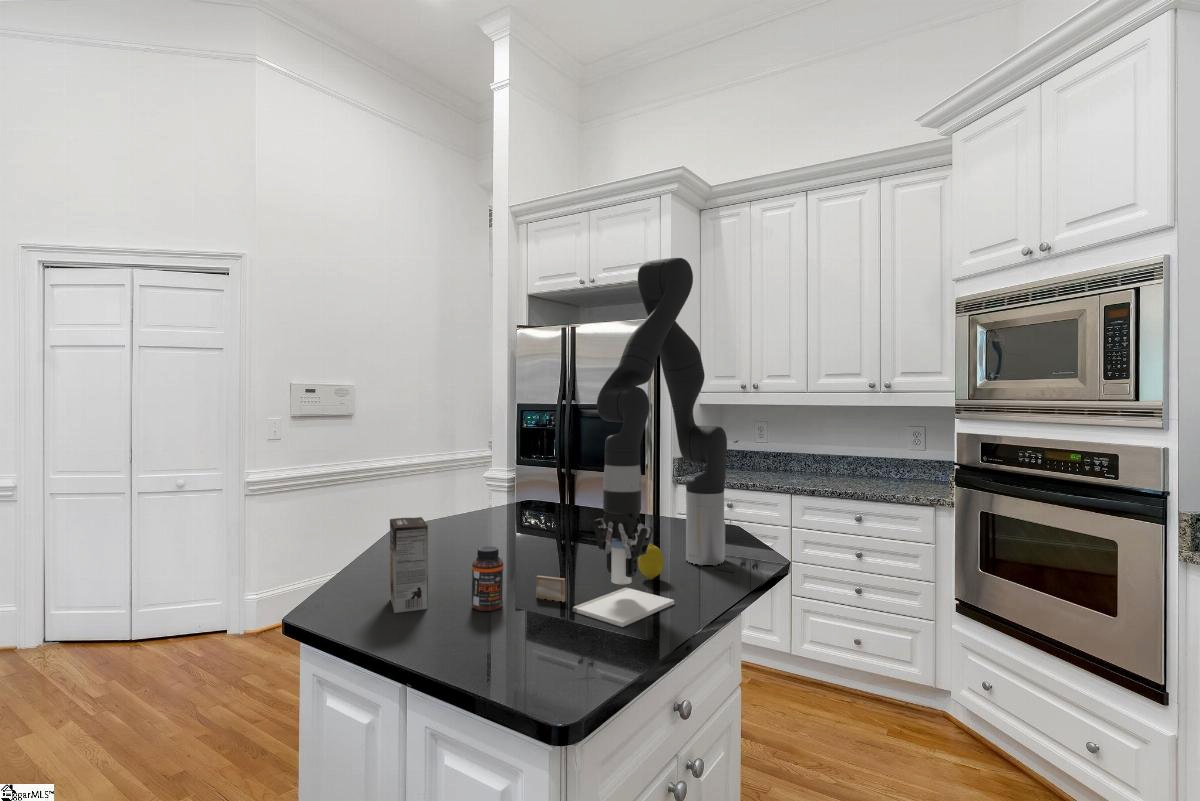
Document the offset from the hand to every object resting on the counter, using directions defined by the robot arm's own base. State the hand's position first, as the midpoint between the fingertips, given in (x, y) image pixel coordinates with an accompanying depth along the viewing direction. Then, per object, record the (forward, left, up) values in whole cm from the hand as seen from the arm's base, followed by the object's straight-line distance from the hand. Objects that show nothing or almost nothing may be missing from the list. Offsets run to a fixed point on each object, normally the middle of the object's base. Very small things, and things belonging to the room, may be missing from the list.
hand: (621, 573), depth 123 cm
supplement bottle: (+20, -17, -6) cm, 27 cm away
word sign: (+9, -11, -5) cm, 15 cm away
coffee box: (+29, -30, -6) cm, 42 cm away
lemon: (-15, -4, -6) cm, 17 cm away
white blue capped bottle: (0, 0, -1) cm, 1 cm away
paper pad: (+3, +3, -5) cm, 7 cm away
